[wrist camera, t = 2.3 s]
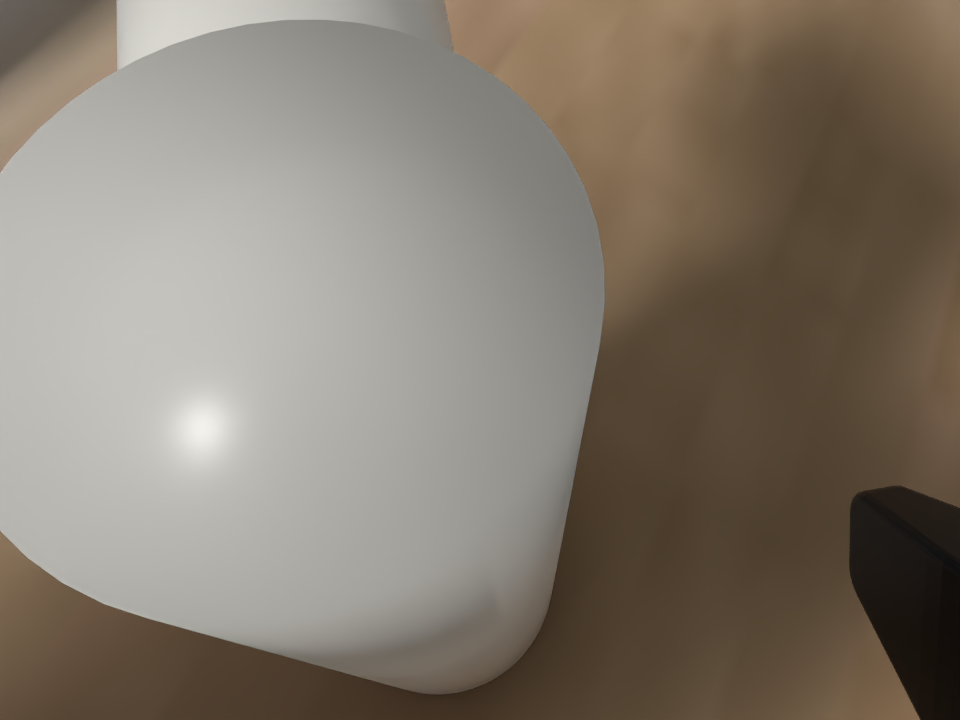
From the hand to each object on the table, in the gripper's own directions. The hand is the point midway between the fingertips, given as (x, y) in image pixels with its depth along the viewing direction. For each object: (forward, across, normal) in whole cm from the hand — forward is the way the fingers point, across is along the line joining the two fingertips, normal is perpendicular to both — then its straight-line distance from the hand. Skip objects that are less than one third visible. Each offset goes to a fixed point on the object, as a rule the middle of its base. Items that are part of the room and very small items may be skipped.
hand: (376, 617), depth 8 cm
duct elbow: (+9, 0, +4) cm, 10 cm away
